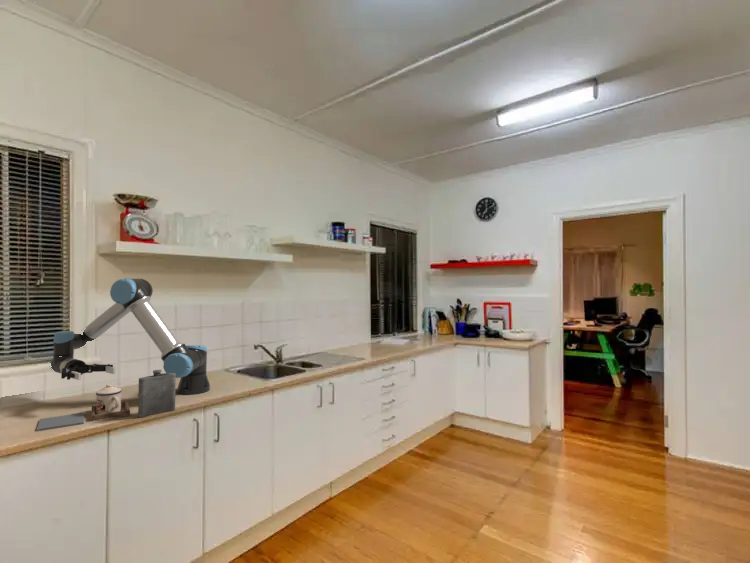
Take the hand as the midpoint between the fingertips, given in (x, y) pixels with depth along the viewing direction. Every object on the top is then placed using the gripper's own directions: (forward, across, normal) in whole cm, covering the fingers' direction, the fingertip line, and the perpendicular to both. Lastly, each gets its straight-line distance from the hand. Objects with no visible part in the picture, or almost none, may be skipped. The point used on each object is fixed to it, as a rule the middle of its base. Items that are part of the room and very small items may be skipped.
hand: (97, 373), depth 174 cm
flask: (+27, -10, -15) cm, 33 cm away
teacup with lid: (+10, 0, -15) cm, 18 cm away
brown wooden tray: (+10, 0, -15) cm, 18 cm away
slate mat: (+6, +15, -15) cm, 23 cm away
